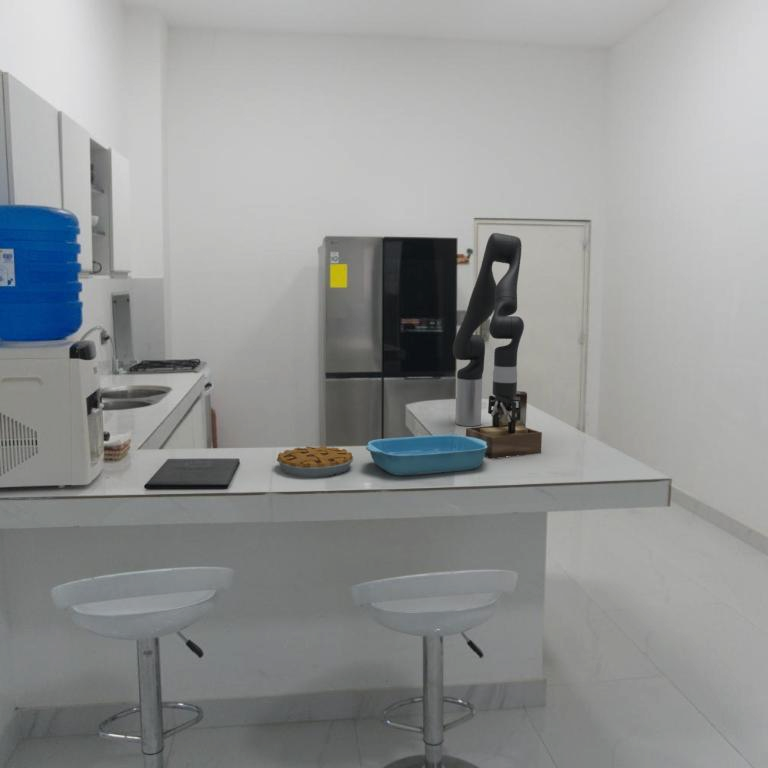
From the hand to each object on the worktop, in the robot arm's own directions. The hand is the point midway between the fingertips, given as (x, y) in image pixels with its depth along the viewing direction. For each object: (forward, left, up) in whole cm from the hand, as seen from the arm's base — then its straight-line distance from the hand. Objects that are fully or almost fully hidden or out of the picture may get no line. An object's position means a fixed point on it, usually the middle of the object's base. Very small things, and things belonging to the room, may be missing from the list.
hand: (503, 430), depth 234 cm
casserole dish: (+6, -31, -7) cm, 32 cm away
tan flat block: (0, 0, -2) cm, 2 cm away
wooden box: (0, 0, -6) cm, 6 cm away
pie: (-5, -61, -7) cm, 62 cm away
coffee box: (-13, +13, -7) cm, 19 cm away
